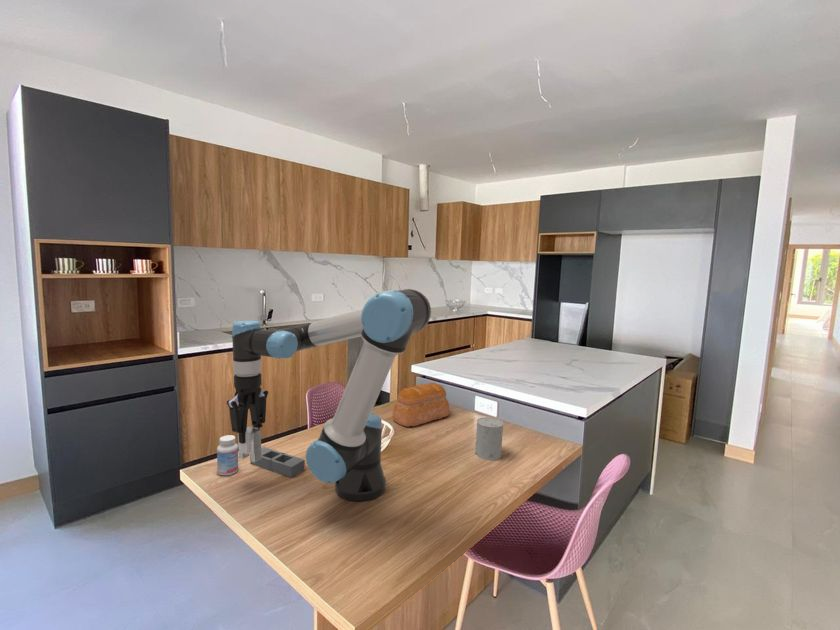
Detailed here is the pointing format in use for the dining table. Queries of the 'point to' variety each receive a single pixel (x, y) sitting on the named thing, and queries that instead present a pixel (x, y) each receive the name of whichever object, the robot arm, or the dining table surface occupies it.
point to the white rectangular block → (252, 445)
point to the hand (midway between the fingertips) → (249, 450)
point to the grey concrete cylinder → (489, 438)
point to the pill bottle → (227, 456)
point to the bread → (421, 405)
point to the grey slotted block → (280, 462)
